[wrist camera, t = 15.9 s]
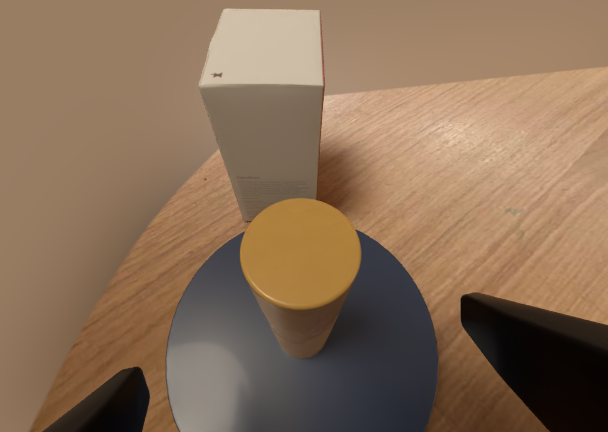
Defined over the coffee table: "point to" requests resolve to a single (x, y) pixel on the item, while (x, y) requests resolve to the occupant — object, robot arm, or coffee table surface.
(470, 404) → the coffee table surface
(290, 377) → the peg on round base
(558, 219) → the coffee table surface
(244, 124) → the small box
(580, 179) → the coffee table surface
